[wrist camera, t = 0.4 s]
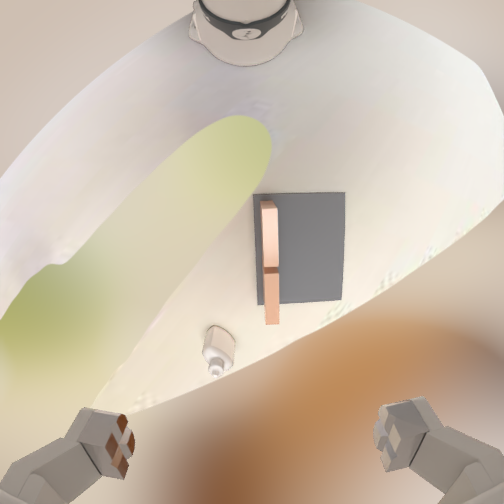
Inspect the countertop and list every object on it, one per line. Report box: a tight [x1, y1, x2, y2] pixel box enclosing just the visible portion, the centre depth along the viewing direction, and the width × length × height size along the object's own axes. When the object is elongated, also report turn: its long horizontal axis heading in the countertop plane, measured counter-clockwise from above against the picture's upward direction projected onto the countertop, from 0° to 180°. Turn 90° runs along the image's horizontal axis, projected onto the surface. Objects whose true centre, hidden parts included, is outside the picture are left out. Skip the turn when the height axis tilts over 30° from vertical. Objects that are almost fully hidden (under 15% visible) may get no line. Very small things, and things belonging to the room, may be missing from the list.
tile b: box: [262, 255, 279, 325], centre depth 49 cm, size 8×2×9 cm, turn 3°
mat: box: [253, 193, 345, 305], centre depth 52 cm, size 19×15×1 cm
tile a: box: [260, 200, 279, 267], centre depth 46 cm, size 8×2×9 cm, turn 2°
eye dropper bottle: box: [202, 326, 235, 378], centre depth 51 cm, size 4×6×12 cm
